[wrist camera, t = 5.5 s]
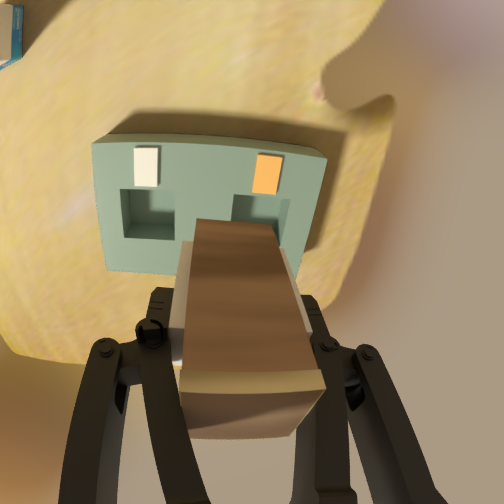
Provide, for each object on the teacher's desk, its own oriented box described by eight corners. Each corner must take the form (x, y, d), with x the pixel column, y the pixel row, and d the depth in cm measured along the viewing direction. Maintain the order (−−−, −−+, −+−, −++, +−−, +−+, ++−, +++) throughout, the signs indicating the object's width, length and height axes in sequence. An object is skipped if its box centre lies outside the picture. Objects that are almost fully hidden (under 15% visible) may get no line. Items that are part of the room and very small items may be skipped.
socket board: (107, 134, 27) (89, 144, 23) (314, 147, 31) (328, 160, 27) (116, 250, 36) (106, 272, 32) (288, 259, 40) (296, 282, 36)
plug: (195, 217, 17) (179, 391, 7) (272, 224, 17) (326, 388, 8) (192, 278, 19) (184, 438, 10) (259, 282, 20) (289, 436, 11)
